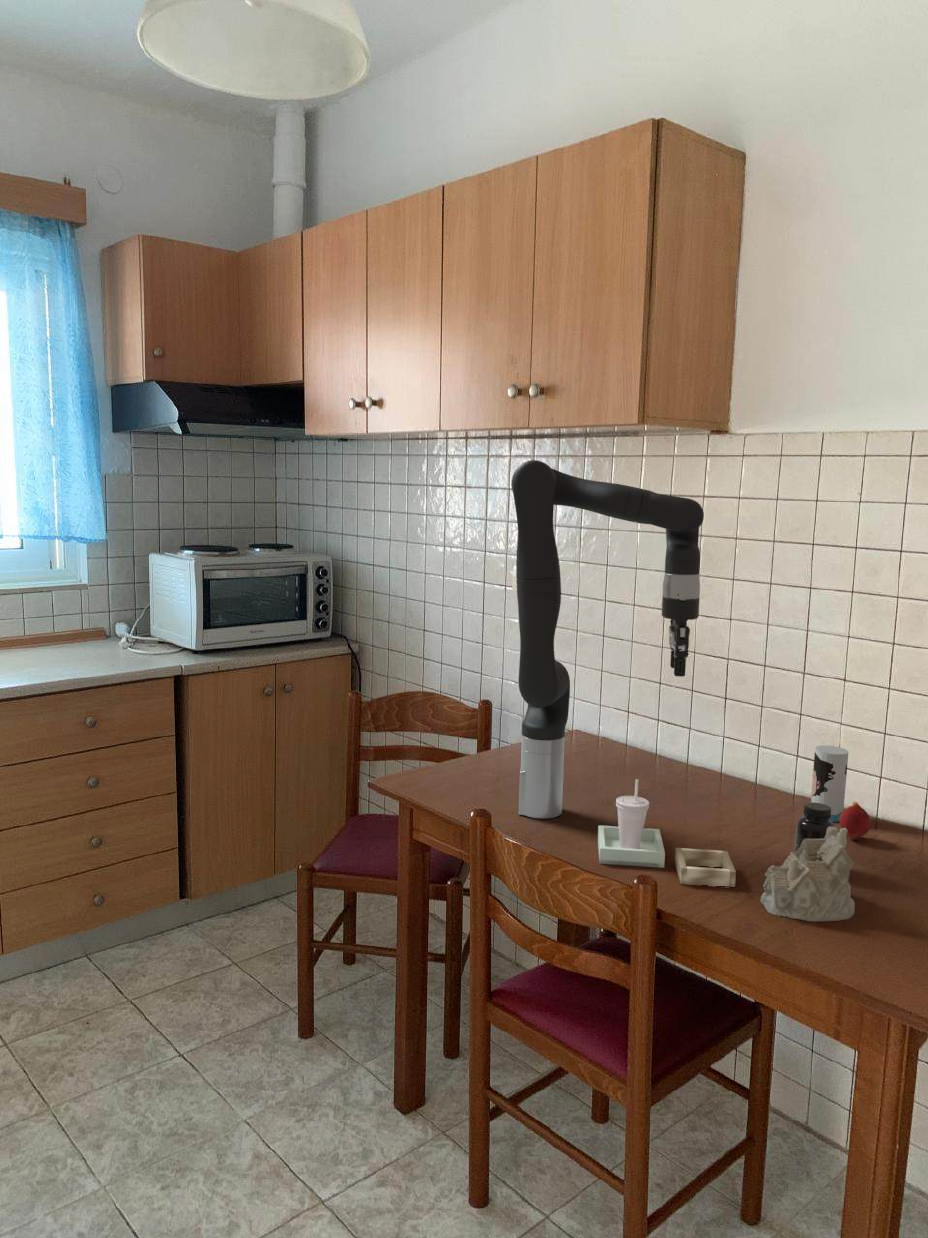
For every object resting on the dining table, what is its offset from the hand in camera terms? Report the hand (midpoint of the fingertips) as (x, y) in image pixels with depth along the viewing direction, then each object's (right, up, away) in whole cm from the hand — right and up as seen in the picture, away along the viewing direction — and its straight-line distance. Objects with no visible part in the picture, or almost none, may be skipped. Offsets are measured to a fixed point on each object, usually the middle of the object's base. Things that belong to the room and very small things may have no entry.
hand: (677, 672), depth 194 cm
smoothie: (-13, -34, -14) cm, 39 cm away
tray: (-13, -34, -15) cm, 39 cm away
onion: (+35, -34, -5) cm, 49 cm away
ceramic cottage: (+14, -38, -33) cm, 53 cm away
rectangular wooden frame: (-1, -36, -24) cm, 43 cm away
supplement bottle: (+21, -36, -19) cm, 46 cm away
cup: (+34, -32, +8) cm, 48 cm away
